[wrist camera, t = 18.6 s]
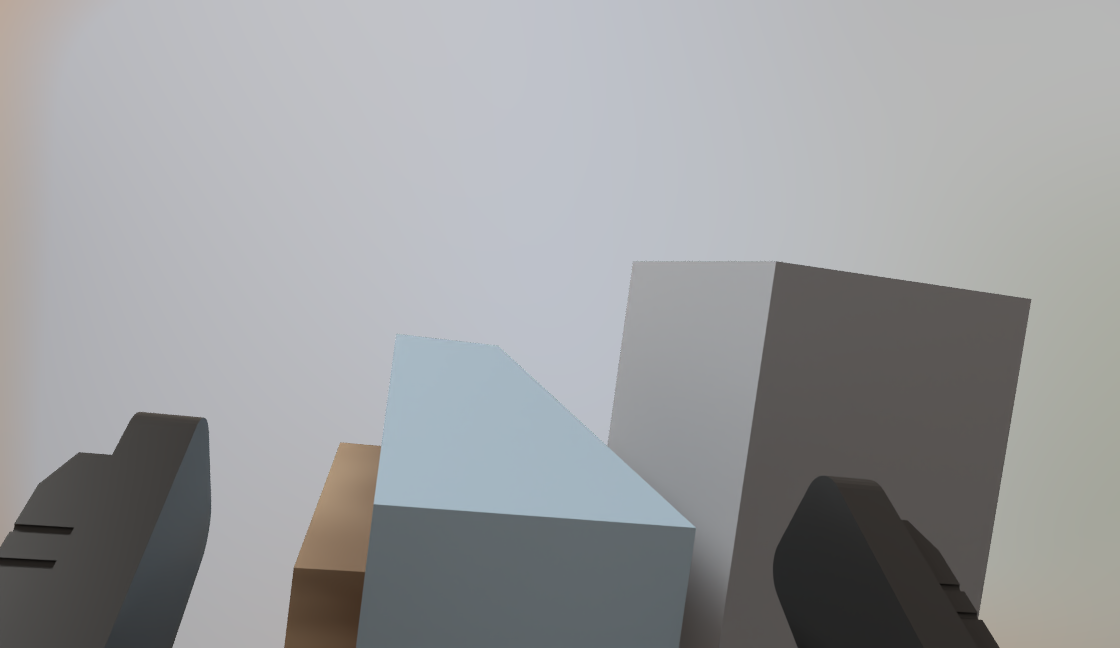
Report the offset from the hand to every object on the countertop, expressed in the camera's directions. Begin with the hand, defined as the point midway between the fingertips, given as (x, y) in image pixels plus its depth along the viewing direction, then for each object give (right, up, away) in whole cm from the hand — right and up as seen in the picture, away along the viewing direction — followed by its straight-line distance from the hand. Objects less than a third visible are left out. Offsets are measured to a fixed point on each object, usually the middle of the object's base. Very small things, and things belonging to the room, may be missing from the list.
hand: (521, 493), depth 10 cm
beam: (-2, -3, +10) cm, 11 cm away
